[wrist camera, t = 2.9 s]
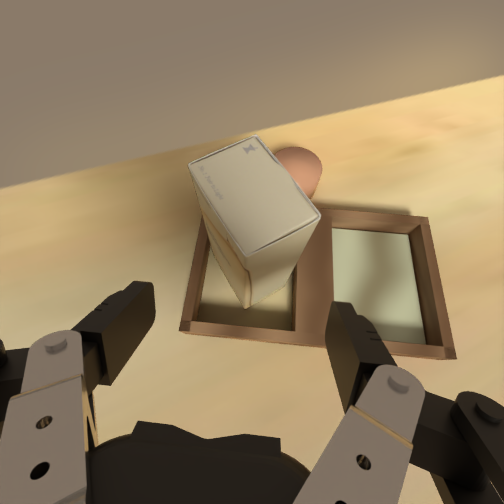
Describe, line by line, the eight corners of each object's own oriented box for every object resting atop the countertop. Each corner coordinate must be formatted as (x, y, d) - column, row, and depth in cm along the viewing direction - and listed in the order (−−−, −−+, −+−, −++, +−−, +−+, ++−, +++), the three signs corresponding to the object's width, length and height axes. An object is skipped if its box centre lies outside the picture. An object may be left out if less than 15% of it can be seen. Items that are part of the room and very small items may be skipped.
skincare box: (212, 254, 24) (180, 161, 13) (253, 233, 25) (255, 129, 14) (246, 312, 22) (241, 260, 11) (289, 287, 23) (325, 214, 12)
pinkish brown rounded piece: (266, 203, 27) (268, 185, 24) (270, 166, 29) (272, 145, 26) (315, 207, 27) (322, 189, 24) (315, 169, 29) (321, 148, 26)
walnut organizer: (185, 333, 21) (178, 330, 20) (208, 210, 26) (205, 198, 24) (438, 359, 21) (456, 359, 19) (415, 227, 25) (427, 217, 24)
